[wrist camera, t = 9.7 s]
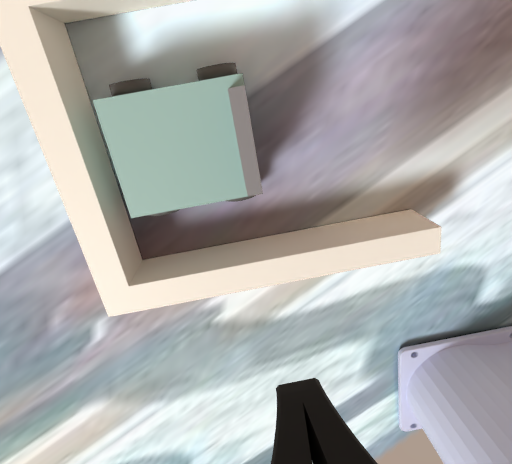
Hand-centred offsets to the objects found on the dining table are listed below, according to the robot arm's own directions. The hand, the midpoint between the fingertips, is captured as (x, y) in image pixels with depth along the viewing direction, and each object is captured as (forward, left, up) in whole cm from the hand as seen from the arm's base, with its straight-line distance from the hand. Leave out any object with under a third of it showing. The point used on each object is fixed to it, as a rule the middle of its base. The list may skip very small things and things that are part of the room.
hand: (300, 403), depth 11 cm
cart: (+3, -8, -10) cm, 13 cm away
